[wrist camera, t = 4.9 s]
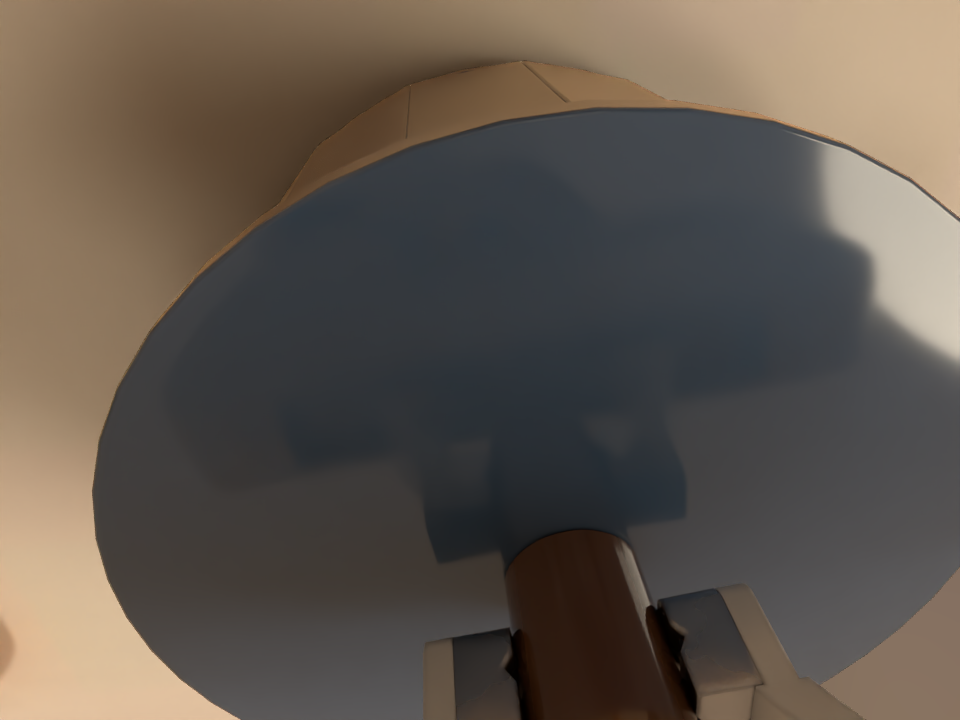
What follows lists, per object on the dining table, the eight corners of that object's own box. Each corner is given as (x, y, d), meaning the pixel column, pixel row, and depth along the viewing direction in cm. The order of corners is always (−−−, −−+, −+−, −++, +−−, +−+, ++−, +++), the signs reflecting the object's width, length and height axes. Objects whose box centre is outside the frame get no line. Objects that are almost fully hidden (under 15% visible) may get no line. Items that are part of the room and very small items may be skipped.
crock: (155, 133, 15) (-83, 280, 8) (781, 1, 15) (1125, 30, 7) (343, 538, 24) (310, 781, 16) (740, 462, 23) (882, 679, 16)
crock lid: (-116, 229, 8) (-621, 473, 4) (1137, -34, 8) (1898, -39, 4) (304, 770, 17) (270, 1004, 13) (881, 666, 17) (1021, 877, 13)
